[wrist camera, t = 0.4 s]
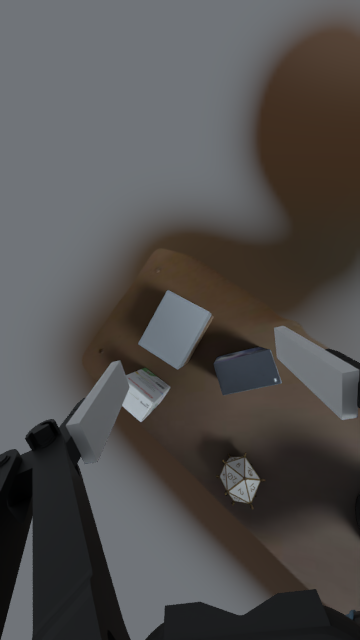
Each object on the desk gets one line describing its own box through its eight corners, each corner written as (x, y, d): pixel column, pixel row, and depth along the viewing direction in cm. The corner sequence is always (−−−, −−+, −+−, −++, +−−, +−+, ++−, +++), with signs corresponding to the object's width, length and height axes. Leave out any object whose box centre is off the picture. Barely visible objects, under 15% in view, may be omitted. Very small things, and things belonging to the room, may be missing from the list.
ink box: (135, 382, 49) (108, 396, 37) (145, 366, 49) (121, 375, 37) (160, 402, 47) (140, 424, 35) (171, 386, 47) (154, 403, 35)
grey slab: (211, 315, 41) (209, 312, 36) (183, 365, 42) (177, 369, 37) (173, 295, 43) (167, 289, 39) (147, 343, 44) (138, 343, 39)
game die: (230, 458, 45) (202, 485, 39) (240, 433, 43) (212, 458, 36) (264, 496, 39) (237, 535, 33) (279, 470, 36) (253, 507, 30)
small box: (260, 344, 43) (271, 347, 32) (269, 372, 42) (284, 384, 32) (215, 356, 45) (212, 362, 35) (223, 383, 44) (223, 397, 34)
